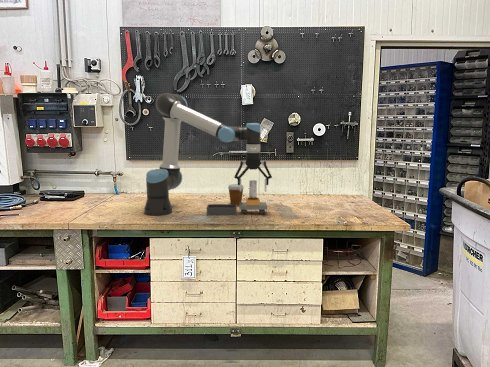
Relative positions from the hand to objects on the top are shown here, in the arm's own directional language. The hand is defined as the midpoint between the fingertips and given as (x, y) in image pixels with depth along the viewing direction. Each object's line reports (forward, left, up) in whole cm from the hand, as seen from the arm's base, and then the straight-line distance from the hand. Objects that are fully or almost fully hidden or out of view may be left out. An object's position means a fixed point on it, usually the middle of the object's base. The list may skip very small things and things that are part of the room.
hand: (253, 191), depth 205 cm
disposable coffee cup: (-9, +21, -12) cm, 26 cm away
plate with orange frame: (0, 0, -12) cm, 12 cm away
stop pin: (0, 0, -7) cm, 7 cm away
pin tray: (-17, 0, -12) cm, 21 cm away
